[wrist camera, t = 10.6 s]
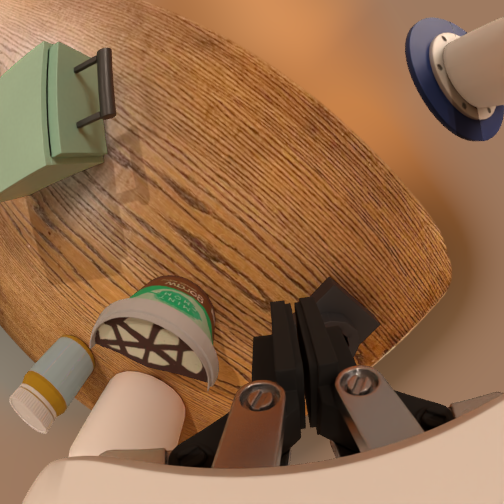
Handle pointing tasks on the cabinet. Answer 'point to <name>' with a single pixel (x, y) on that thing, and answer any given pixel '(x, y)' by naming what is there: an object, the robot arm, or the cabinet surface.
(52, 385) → the bottle
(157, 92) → the cabinet surface
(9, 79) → the green drawer box
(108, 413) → the can
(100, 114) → the green cabinet drawer
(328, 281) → the block
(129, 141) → the cabinet surface
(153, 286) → the food container
